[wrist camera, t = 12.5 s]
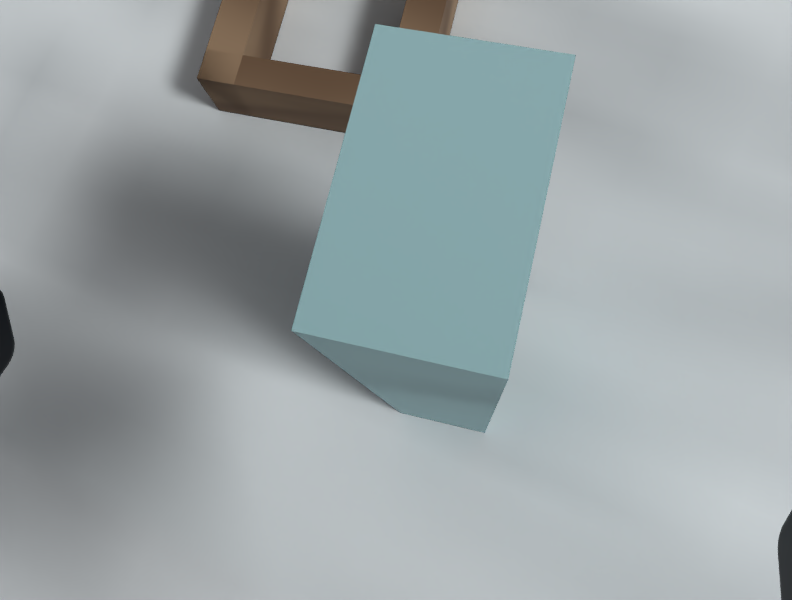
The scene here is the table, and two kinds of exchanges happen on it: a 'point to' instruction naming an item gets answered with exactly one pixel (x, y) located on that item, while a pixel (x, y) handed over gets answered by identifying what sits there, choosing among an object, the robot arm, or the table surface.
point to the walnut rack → (288, 65)
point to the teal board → (435, 220)
